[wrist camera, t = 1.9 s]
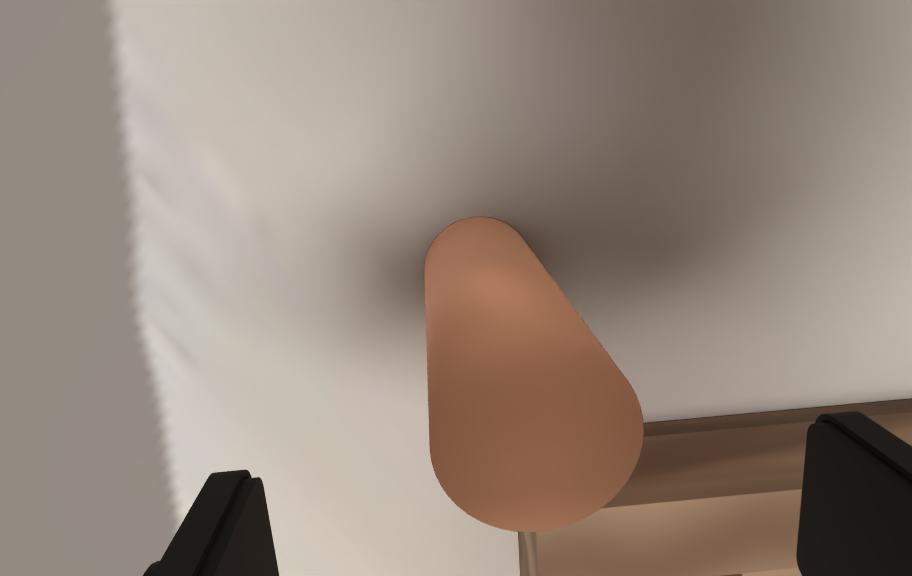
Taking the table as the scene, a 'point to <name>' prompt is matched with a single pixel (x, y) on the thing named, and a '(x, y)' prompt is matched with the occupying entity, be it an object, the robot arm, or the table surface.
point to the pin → (519, 387)
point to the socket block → (702, 500)
